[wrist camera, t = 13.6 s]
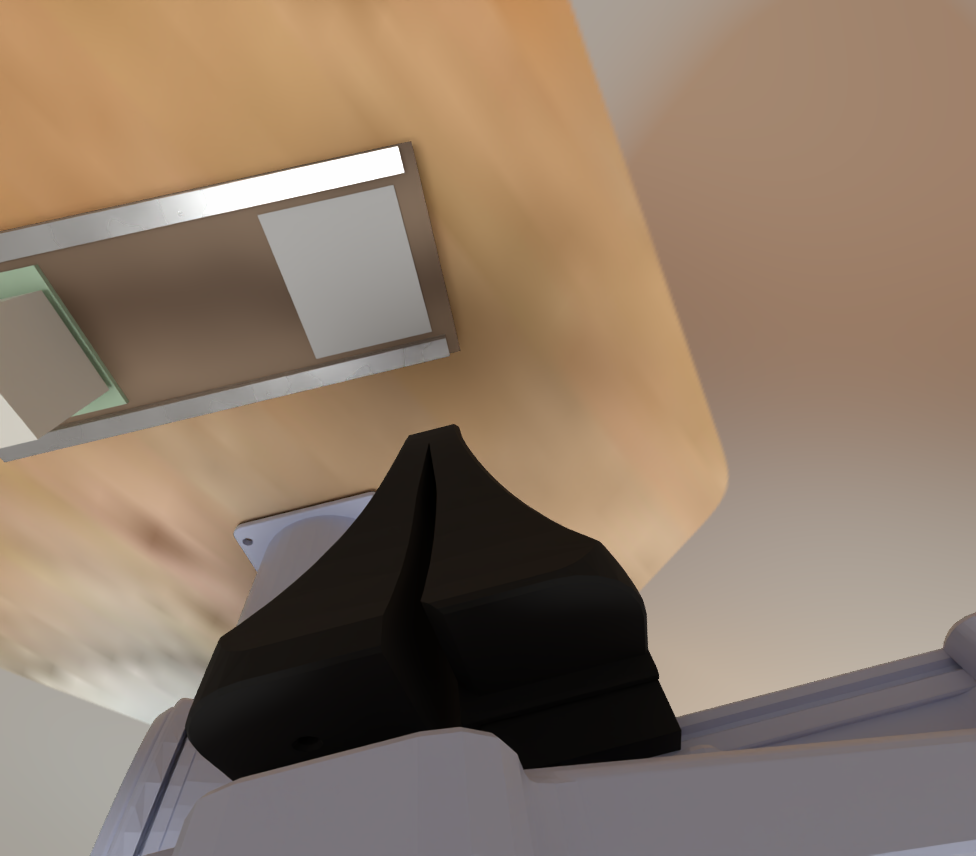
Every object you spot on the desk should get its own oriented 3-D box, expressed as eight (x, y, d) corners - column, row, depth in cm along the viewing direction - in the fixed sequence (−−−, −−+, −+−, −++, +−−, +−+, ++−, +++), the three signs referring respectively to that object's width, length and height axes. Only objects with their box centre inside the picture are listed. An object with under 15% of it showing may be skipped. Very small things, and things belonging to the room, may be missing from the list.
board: (457, 340, 21) (461, 355, 19) (31, 441, 21) (-6, 467, 19) (411, 143, 17) (411, 139, 15) (-120, 260, 17) (-186, 270, 15)
